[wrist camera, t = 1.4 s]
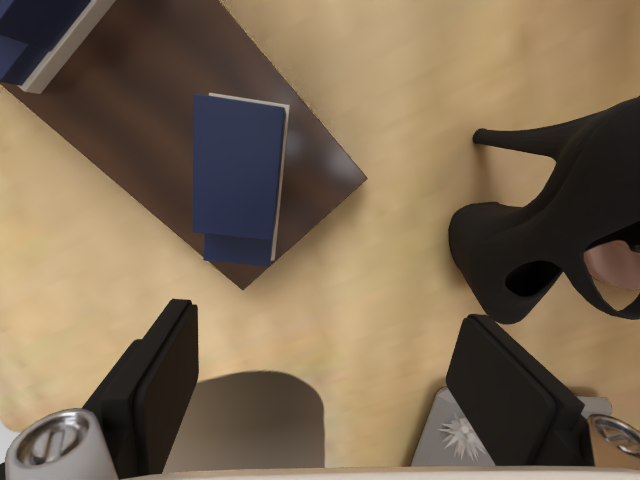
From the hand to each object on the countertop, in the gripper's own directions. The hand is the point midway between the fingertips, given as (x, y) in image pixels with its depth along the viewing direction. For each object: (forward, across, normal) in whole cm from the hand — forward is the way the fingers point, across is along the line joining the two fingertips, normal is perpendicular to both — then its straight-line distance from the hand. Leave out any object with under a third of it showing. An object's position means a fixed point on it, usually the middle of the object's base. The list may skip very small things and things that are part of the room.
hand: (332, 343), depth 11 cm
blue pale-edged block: (+18, +5, -2) cm, 19 cm away
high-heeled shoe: (+22, -18, -2) cm, 28 cm away
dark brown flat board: (+21, +11, -8) cm, 25 cm away
